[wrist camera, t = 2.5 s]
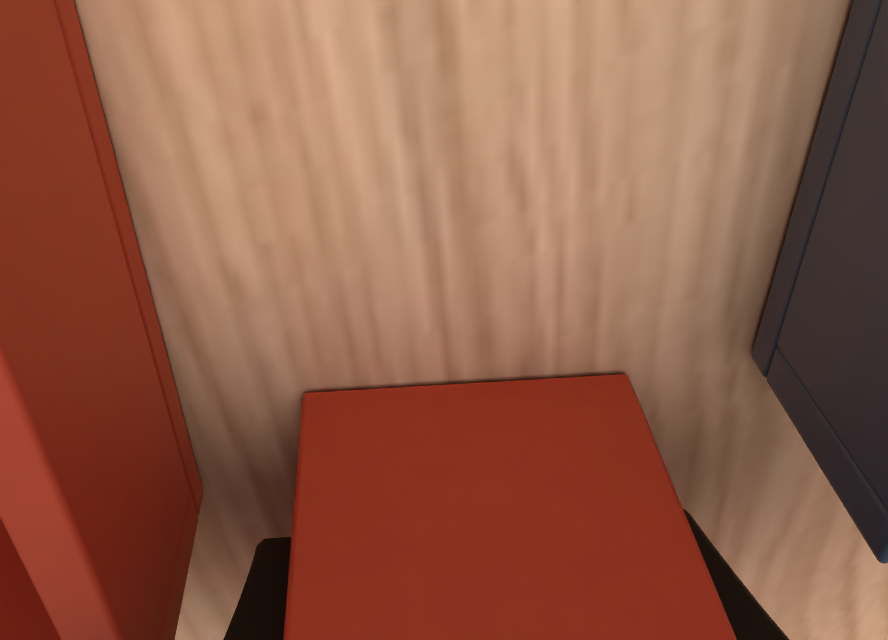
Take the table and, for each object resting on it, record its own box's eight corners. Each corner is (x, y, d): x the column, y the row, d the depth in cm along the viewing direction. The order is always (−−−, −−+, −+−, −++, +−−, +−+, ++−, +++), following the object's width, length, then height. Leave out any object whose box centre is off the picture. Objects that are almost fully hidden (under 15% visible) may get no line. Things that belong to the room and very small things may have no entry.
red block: (593, 571, 14) (676, 868, 10) (330, 591, 14) (320, 904, 10) (629, 371, 11) (756, 678, 8) (300, 390, 11) (275, 719, 7)
